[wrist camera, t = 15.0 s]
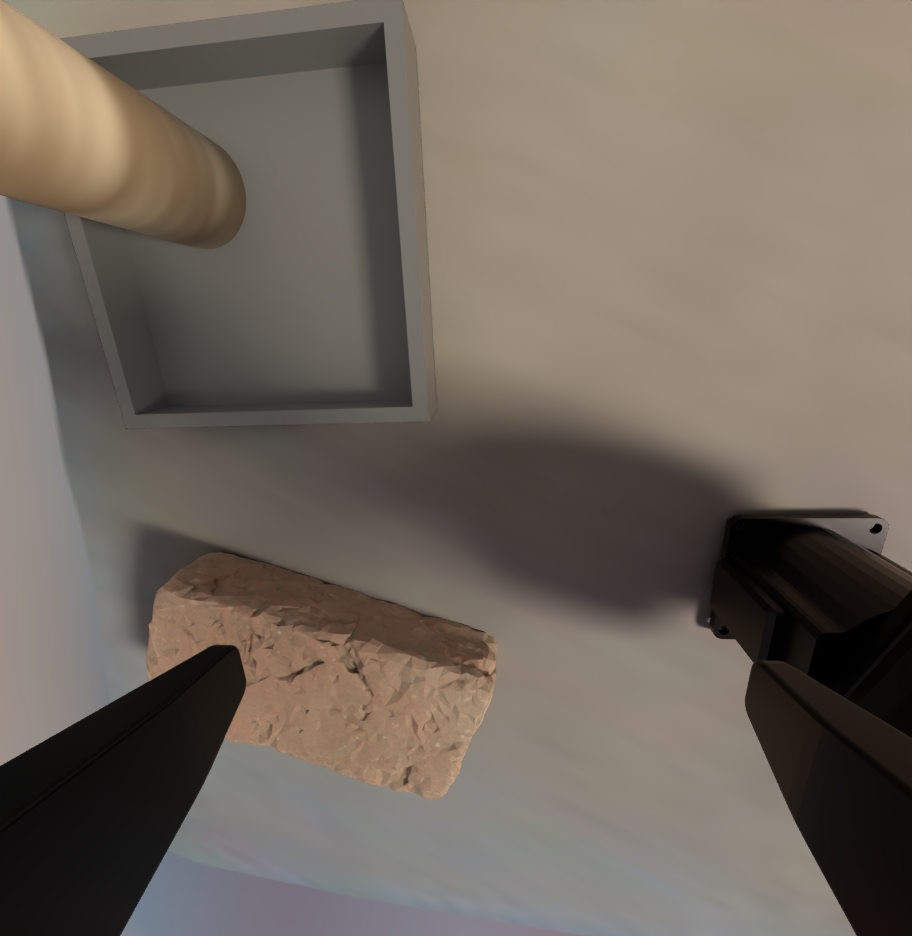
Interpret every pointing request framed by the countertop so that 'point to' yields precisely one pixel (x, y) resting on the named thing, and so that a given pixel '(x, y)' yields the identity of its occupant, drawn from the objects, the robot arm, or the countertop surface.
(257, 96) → the tray
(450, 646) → the brick
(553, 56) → the countertop surface
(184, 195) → the pin
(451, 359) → the countertop surface
